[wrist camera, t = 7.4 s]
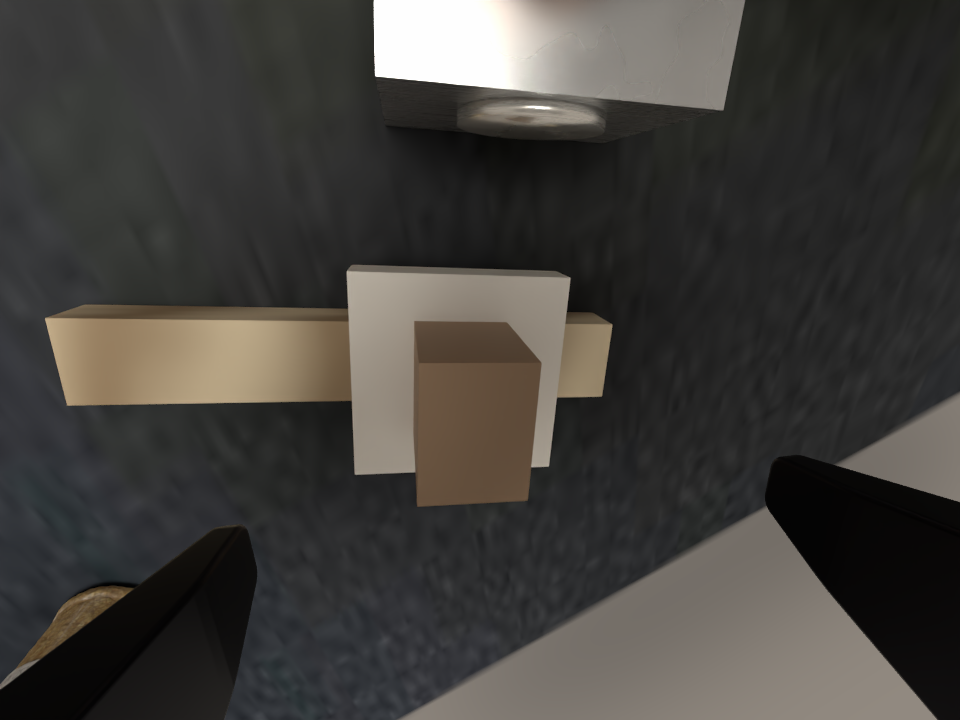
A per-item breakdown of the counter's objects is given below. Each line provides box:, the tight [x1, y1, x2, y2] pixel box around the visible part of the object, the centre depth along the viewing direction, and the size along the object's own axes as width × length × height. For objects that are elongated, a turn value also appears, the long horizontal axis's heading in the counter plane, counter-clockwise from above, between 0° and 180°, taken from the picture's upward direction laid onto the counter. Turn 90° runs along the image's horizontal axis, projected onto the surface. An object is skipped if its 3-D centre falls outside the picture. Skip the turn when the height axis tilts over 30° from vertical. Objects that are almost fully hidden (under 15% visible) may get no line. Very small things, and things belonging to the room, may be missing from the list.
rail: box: [45, 304, 613, 405], centre depth 18 cm, size 19×3×2 cm, turn 87°
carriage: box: [347, 265, 571, 507], centre depth 15 cm, size 7×7×8 cm
